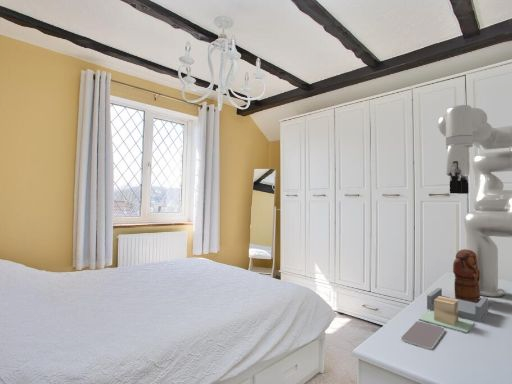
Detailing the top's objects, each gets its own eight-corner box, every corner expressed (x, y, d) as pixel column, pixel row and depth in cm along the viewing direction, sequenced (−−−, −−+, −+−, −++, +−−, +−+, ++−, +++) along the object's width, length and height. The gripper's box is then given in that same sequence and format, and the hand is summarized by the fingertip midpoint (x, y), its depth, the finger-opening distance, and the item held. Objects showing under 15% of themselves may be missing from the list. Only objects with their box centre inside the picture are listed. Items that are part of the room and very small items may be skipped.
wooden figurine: (473, 305, 101) (472, 252, 101) (451, 300, 106) (451, 250, 106) (483, 298, 108) (482, 249, 108) (462, 294, 113) (462, 246, 113)
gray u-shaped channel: (437, 300, 106) (437, 287, 106) (487, 311, 96) (487, 297, 96) (427, 309, 97) (427, 295, 98) (480, 322, 87) (480, 307, 87)
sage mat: (428, 312, 95) (428, 310, 95) (474, 323, 86) (474, 322, 86) (418, 319, 89) (418, 318, 89) (467, 333, 80) (467, 331, 80)
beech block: (439, 315, 91) (439, 295, 91) (458, 320, 88) (458, 300, 88) (434, 320, 88) (434, 299, 88) (453, 325, 84) (453, 304, 84)
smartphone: (399, 338, 76) (416, 320, 87) (399, 342, 76) (416, 323, 87) (431, 348, 71) (445, 328, 82) (431, 352, 71) (445, 331, 82)
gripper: (452, 147, 109) (453, 193, 109) (438, 141, 97) (439, 193, 97) (477, 144, 103) (478, 193, 103) (466, 137, 91) (466, 193, 91)
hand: (459, 193), depth 100 cm, fingers open, 9 cm apart
